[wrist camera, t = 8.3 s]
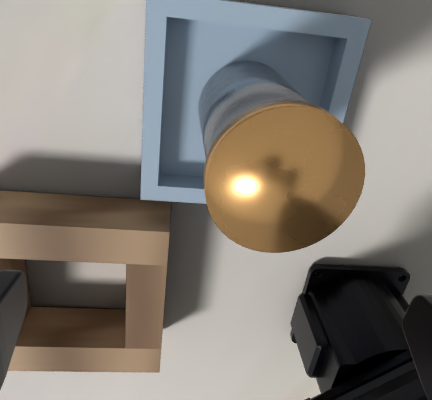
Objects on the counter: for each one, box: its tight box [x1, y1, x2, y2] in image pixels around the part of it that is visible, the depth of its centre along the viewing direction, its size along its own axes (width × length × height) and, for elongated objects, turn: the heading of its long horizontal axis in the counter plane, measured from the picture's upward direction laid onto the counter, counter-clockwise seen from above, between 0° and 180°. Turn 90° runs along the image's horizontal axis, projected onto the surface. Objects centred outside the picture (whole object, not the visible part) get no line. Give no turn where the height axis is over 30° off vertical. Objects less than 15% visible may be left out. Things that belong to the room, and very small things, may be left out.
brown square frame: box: [0, 190, 171, 372], centre depth 22 cm, size 10×10×3 cm
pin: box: [198, 61, 365, 253], centre depth 15 cm, size 5×5×8 cm
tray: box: [140, 0, 372, 204], centre depth 18 cm, size 9×9×2 cm
